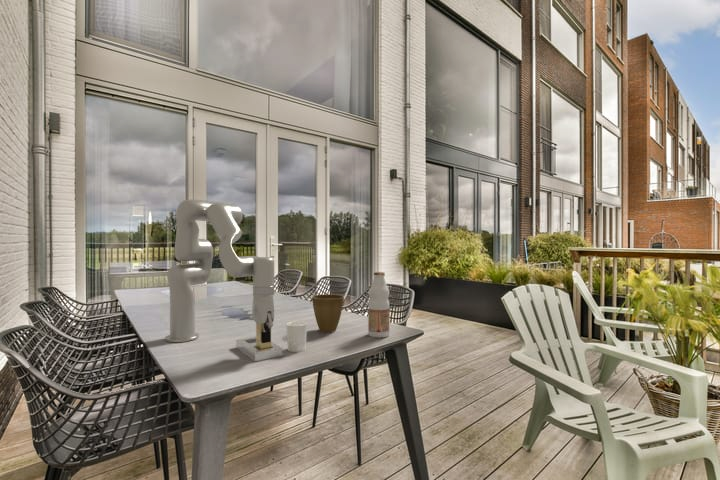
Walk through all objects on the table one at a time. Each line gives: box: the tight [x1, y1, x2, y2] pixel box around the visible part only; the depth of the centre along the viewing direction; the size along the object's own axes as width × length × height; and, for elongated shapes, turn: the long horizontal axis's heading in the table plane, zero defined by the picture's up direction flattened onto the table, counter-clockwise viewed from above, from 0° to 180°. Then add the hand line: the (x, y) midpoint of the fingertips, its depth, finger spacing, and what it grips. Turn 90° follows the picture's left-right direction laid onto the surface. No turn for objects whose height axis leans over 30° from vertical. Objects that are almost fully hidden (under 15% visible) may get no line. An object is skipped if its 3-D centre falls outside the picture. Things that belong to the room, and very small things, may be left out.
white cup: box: [285, 320, 308, 353], centre depth 139 cm, size 8×8×10 cm
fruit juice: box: [367, 271, 391, 339], centre depth 160 cm, size 9×9×28 cm
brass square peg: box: [255, 321, 272, 350], centre depth 132 cm, size 5×5×11 cm
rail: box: [235, 336, 283, 362], centre depth 136 cm, size 20×10×3 cm, turn 37°
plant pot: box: [311, 293, 345, 333], centre depth 168 cm, size 15×15×16 cm
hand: (263, 340), depth 132 cm, fingers closed on brass square peg, 4 cm apart
